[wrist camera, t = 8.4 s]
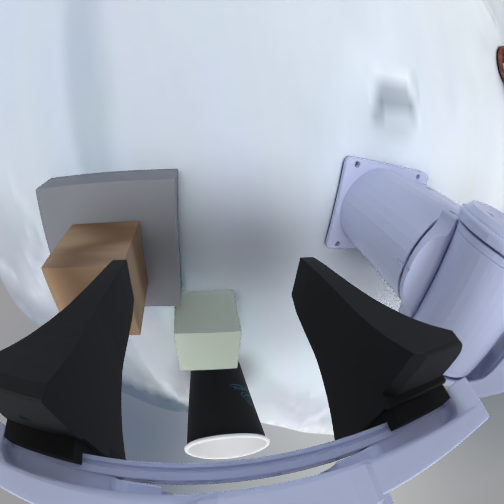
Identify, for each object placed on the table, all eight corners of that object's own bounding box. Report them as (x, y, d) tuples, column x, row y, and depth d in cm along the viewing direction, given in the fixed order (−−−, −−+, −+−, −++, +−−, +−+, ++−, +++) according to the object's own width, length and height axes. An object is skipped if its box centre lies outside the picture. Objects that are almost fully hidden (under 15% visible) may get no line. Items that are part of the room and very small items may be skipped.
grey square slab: (177, 166, 18) (174, 179, 15) (181, 282, 23) (180, 305, 21) (54, 175, 16) (35, 189, 13) (77, 282, 21) (67, 304, 18)
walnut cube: (139, 220, 16) (122, 266, 12) (148, 282, 19) (140, 334, 15) (72, 224, 15) (41, 268, 11) (88, 283, 18) (69, 332, 14)
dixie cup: (172, 372, 29) (176, 457, 20) (190, 332, 26) (197, 435, 17) (233, 381, 32) (248, 458, 23) (260, 344, 29) (286, 434, 20)
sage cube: (232, 289, 24) (241, 331, 20) (229, 327, 26) (237, 368, 22) (175, 290, 23) (174, 333, 19) (179, 328, 25) (180, 370, 21)
